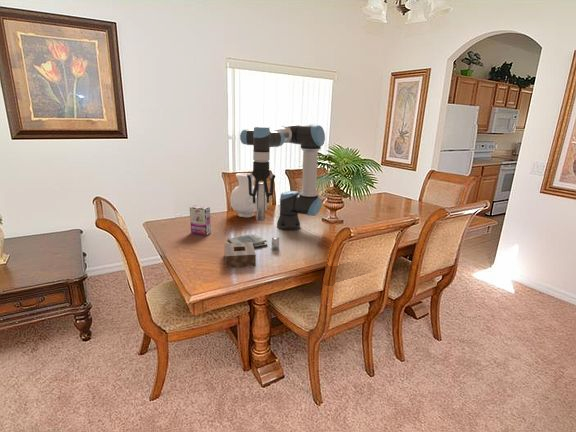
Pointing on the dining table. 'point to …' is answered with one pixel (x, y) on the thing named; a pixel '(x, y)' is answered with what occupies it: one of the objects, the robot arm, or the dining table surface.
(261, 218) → the long pin
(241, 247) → the hole block
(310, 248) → the dining table surface
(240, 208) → the vase
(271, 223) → the dining table surface
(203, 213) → the candy bar box
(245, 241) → the dish towel
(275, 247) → the short pin
